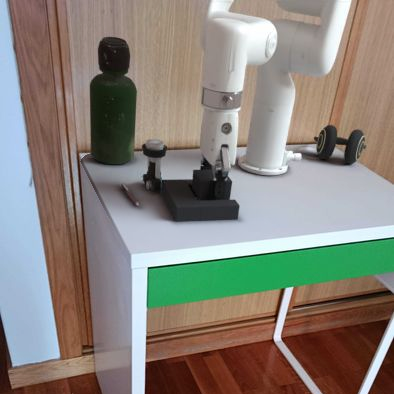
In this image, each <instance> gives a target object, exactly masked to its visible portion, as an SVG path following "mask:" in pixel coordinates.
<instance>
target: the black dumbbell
mask: <svg viewBox="0 0 394 394" xmlns="http://www.w3.org/2000/svg"><path fill="white" fill-rule="evenodd" d="M313 140H314V141H315V142H316V146H315V147H316V148H315V149H316V153H317V155H318V157H319V158H320V159H321V160H328V159H330V158H331V157H332V155H333V153H334V151H335V149H336V145H337V146H345V147H344V152H343V159H344V162H345V163H346V164H349V165H353V164H355V163H356V162H357V161H359V160H360V158H361V157H362V154H363V151H364V150H365V149H367V145H366V136H365V133H364V132H363V131H362V129H358V128H356V129H354V130H352V131H351V133H350V134H349V136H348V138H344V137H341V136H338V129H337V127H336V126H335V125H333V124H328V125H326V126H325V127H323V128H322V129H321V130H320V132H319V133H318V136H314V137H313Z"/></svg>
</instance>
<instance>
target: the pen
mask: <svg viewBox="0 0 394 394" xmlns="http://www.w3.org/2000/svg"><path fill="white" fill-rule="evenodd" d="M120 187H121V188H122V190H123V191H124V192H125V194H126V195H127V196H128V197H129V199H130V200H131V201H132V202H133V203H134V204H135V205H136V206H137V207H139V206H140V204H139V202H138V200H137V199H136V198H135V197H134V195H133V194H132V193H131V192H130V190H129V188H128V187H127V186H126V185H125V184H124V183H123V182H122V183H120Z"/></svg>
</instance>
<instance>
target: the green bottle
mask: <svg viewBox="0 0 394 394" xmlns="http://www.w3.org/2000/svg"><path fill="white" fill-rule="evenodd" d="M130 51H131V50H130V47H129V44H128V43H127V40H125V39H123V38H121V37H115V36H105V37H104V36H103V37H102V38H101V40H100V41H99V42H98V47H97V63H98V69H99V71H100V72H101V73H98V74H96V75H94V76H93V78H92V79H91V80H90V83H89V115H90V116H89V125H90V126H89V127H90V131H89V133H90V155H91V157H92V158H93V159H95V160H96V161H98V162H101V163H103V164H107V165H123V164H127V163H129V162H131V161H132V160H133V159H134V157H135V143H136V141H135V139H136V120H137V100H138V99H137V98H138V90H137V86H136V84H135V82H134V81H133V79H131V78H130V77H128V76H127V74H128V73H129V69H130V66H131V65H130V64H131V52H130Z"/></svg>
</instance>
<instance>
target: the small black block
mask: <svg viewBox="0 0 394 394" xmlns="http://www.w3.org/2000/svg"><path fill="white" fill-rule="evenodd" d="M219 170H221V168H218V169H217V168H216V171H217V172H218V171H219ZM191 179H192V189H193V191H194V193H195V194H196V196H197V198H196V199H197V200H210V199H209V188H210V179H212V170H200V169H192V178H191ZM232 186H233V181H232V179H231V178H230V176H229V175H228V176H227V181H226V188H225V196H224V199H221V200H231V195H232Z"/></svg>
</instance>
